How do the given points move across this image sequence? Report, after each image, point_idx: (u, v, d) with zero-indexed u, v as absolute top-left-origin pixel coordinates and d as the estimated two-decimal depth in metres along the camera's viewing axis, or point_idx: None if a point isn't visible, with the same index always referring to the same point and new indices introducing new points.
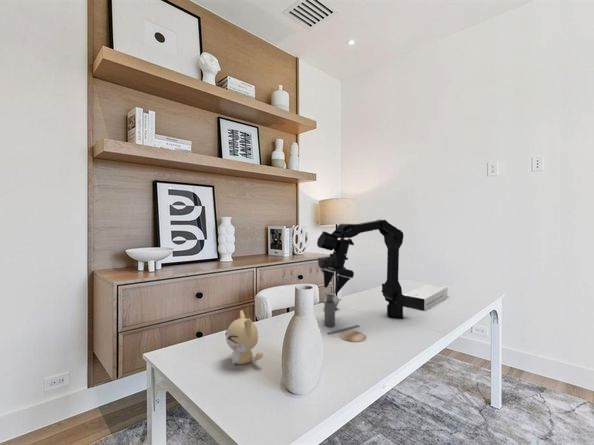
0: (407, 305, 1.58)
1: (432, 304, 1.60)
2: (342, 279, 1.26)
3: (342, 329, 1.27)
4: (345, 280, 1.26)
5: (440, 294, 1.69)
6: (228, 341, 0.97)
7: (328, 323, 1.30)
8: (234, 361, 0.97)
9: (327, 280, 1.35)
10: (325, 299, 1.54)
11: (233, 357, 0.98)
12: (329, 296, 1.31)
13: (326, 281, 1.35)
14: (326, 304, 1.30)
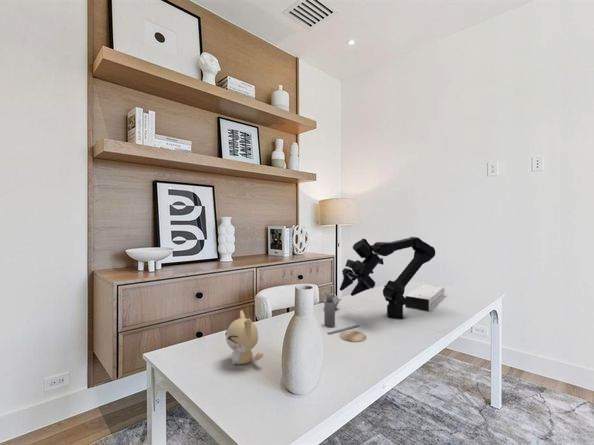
0: (411, 306, 1.56)
1: (434, 304, 1.60)
2: (362, 286, 1.31)
3: (342, 329, 1.27)
4: (364, 288, 1.30)
5: (439, 294, 1.69)
6: (228, 341, 0.97)
7: (328, 323, 1.30)
8: (234, 361, 0.97)
9: (344, 285, 1.40)
10: (325, 299, 1.54)
11: (233, 357, 0.98)
12: (329, 296, 1.31)
13: (343, 285, 1.40)
14: (326, 304, 1.30)
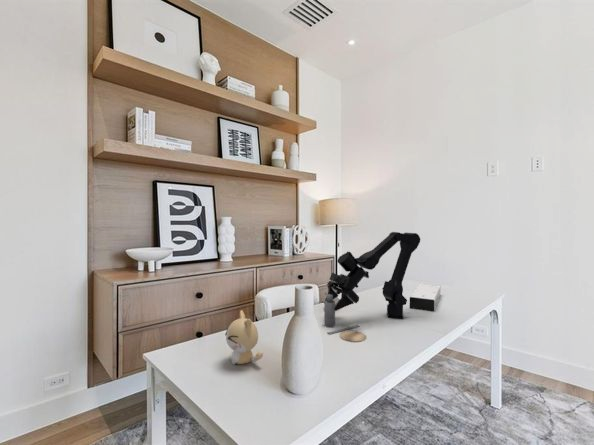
0: (415, 307, 1.55)
1: (436, 304, 1.60)
2: (345, 300, 1.28)
3: (342, 329, 1.27)
4: (348, 303, 1.28)
5: (438, 293, 1.70)
6: (228, 341, 0.97)
7: (328, 322, 1.30)
8: (234, 361, 0.97)
9: None
10: None
11: (233, 357, 0.98)
12: (329, 296, 1.31)
13: None
14: (326, 304, 1.30)
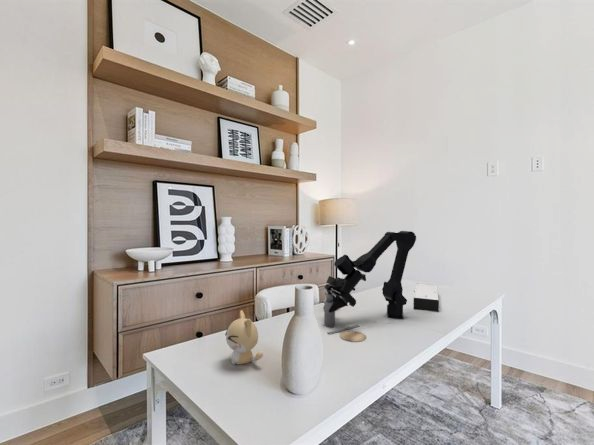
0: (419, 307, 1.54)
1: None
2: (340, 302, 1.30)
3: (342, 329, 1.27)
4: (342, 304, 1.29)
5: None
6: (228, 341, 0.97)
7: (328, 322, 1.30)
8: (234, 361, 0.97)
9: None
10: (325, 299, 1.54)
11: (233, 357, 0.98)
12: (329, 296, 1.31)
13: None
14: (326, 304, 1.30)
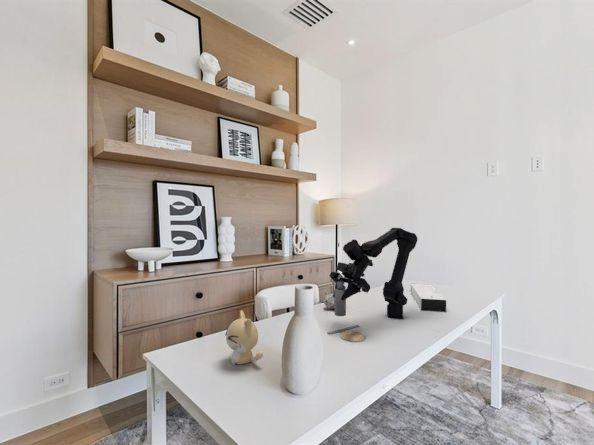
0: (427, 308, 1.52)
1: None
2: (352, 289, 1.24)
3: (342, 329, 1.27)
4: (354, 291, 1.24)
5: None
6: (228, 341, 0.97)
7: (340, 311, 1.23)
8: (234, 361, 0.97)
9: None
10: (325, 299, 1.54)
11: (233, 357, 0.98)
12: (340, 283, 1.24)
13: None
14: (338, 292, 1.23)
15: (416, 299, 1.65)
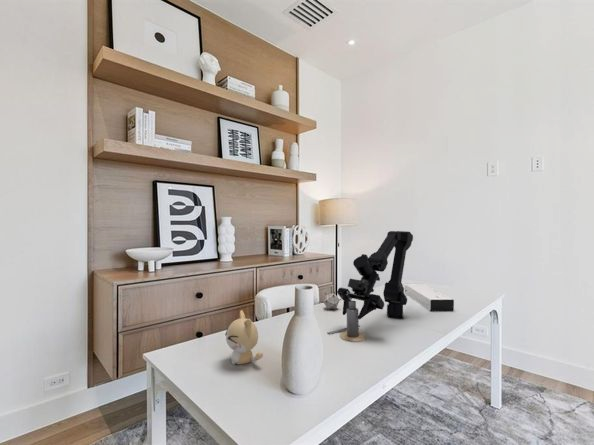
0: (436, 309, 1.51)
1: None
2: (368, 307, 1.19)
3: (342, 329, 1.27)
4: (370, 309, 1.19)
5: None
6: (228, 341, 0.97)
7: (354, 332, 1.18)
8: (234, 361, 0.97)
9: (346, 307, 1.23)
10: (325, 299, 1.54)
11: (233, 357, 0.98)
12: (353, 303, 1.19)
13: (345, 308, 1.23)
14: (351, 312, 1.18)
15: (419, 300, 1.63)
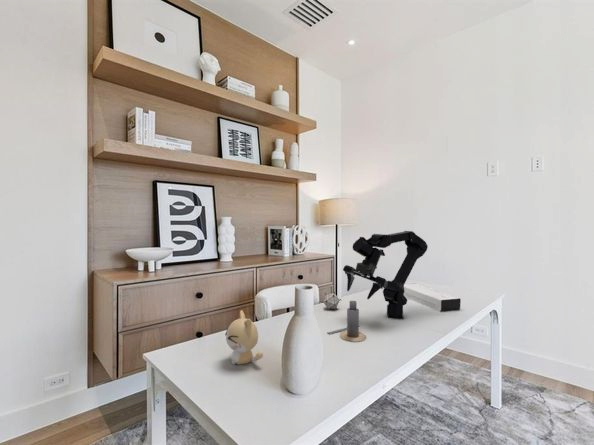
0: (445, 309, 1.51)
1: None
2: (375, 287, 1.31)
3: (342, 329, 1.27)
4: (377, 288, 1.32)
5: None
6: (228, 341, 0.97)
7: (354, 332, 1.18)
8: (234, 361, 0.97)
9: (350, 284, 1.36)
10: (325, 299, 1.54)
11: (233, 357, 0.98)
12: (354, 303, 1.19)
13: (349, 285, 1.36)
14: (351, 312, 1.18)
15: (423, 300, 1.62)
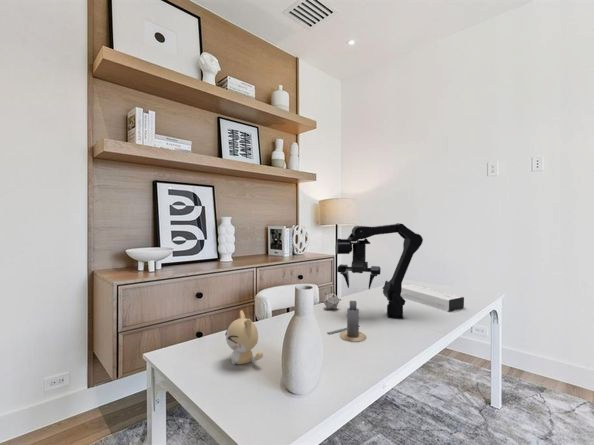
0: (452, 309, 1.52)
1: None
2: None
3: (342, 329, 1.27)
4: None
5: None
6: (228, 341, 0.97)
7: (354, 332, 1.18)
8: (234, 361, 0.97)
9: (348, 280, 1.44)
10: (325, 299, 1.54)
11: (233, 357, 0.98)
12: (354, 303, 1.19)
13: (348, 281, 1.44)
14: (351, 312, 1.18)
15: (427, 301, 1.61)
